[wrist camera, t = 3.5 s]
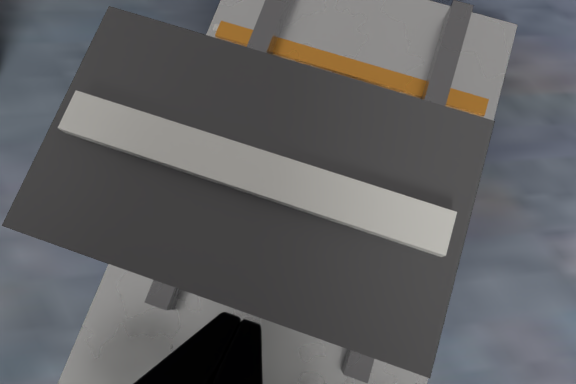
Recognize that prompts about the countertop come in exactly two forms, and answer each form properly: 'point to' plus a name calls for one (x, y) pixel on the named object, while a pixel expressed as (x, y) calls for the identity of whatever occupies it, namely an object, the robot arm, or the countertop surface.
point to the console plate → (340, 60)
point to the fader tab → (261, 186)
